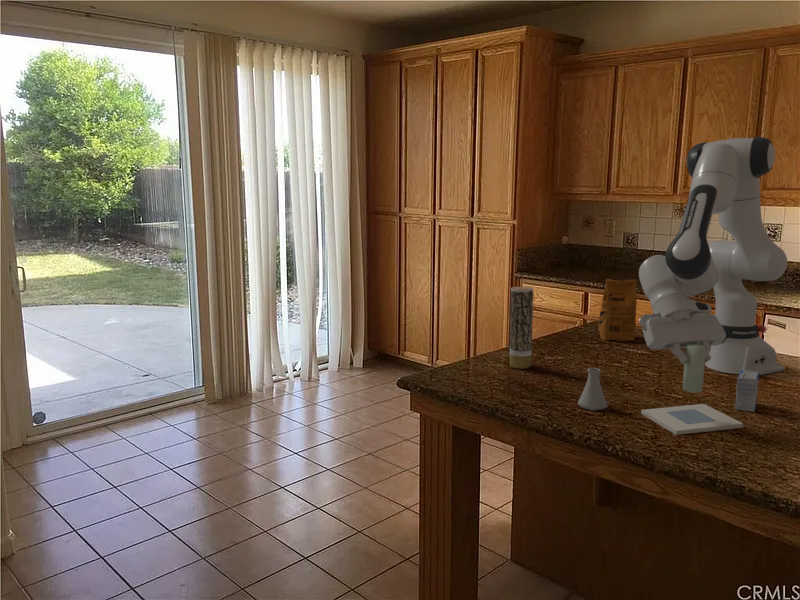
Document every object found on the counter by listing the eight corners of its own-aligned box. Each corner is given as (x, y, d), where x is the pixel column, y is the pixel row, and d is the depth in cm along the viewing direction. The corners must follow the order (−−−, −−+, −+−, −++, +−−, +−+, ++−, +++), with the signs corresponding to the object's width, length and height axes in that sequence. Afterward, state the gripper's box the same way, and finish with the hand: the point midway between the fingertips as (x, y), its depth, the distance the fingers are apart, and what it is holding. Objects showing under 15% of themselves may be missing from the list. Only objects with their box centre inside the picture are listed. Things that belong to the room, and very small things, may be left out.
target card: (703, 407, 168) (703, 403, 167) (742, 427, 154) (743, 423, 154) (641, 413, 164) (641, 409, 163) (675, 434, 150) (676, 430, 150)
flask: (592, 413, 165) (593, 375, 163) (572, 404, 171) (573, 367, 169) (613, 408, 168) (615, 371, 166) (592, 399, 174) (594, 363, 172)
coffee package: (597, 334, 244) (600, 276, 240) (631, 335, 242) (635, 277, 238) (600, 341, 234) (603, 281, 230) (636, 342, 232) (640, 281, 228)
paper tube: (531, 370, 201) (533, 290, 196) (508, 369, 202) (510, 290, 198) (531, 363, 208) (533, 286, 203) (509, 362, 209) (511, 286, 204)
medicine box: (754, 412, 164) (757, 379, 162) (734, 409, 166) (737, 377, 164) (756, 403, 170) (759, 371, 168) (737, 400, 172) (740, 369, 171)
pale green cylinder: (694, 386, 160) (697, 343, 158) (706, 392, 156) (710, 347, 154) (678, 387, 159) (682, 344, 157) (690, 393, 155) (694, 348, 153)
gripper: (642, 308, 158) (664, 357, 150) (715, 304, 163) (740, 351, 155) (631, 321, 163) (651, 370, 156) (702, 317, 168) (725, 364, 160)
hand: (696, 361), depth 155 cm, fingers closed on pale green cylinder, 4 cm apart
